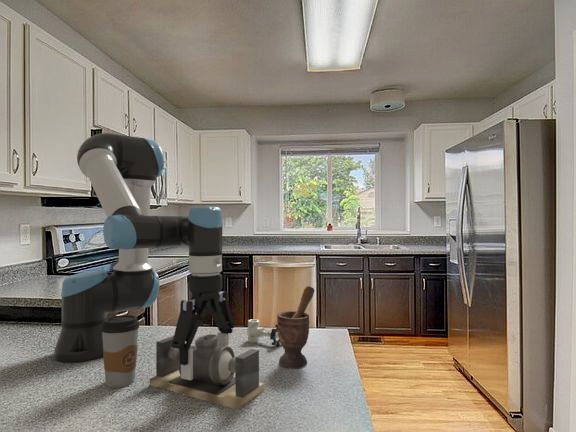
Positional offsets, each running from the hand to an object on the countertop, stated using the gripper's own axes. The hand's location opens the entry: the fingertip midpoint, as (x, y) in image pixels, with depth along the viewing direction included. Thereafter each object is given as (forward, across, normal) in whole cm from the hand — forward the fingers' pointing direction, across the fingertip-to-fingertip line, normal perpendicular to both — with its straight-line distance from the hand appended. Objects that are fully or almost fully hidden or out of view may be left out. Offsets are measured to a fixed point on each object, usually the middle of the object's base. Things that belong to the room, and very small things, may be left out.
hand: (205, 369), depth 87 cm
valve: (+5, +34, +6) cm, 35 cm away
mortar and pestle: (+4, +24, -11) cm, 27 cm away
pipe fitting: (+3, 0, 0) cm, 3 cm away
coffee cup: (+4, -7, +20) cm, 22 cm away
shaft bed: (+4, 0, 0) cm, 4 cm away
